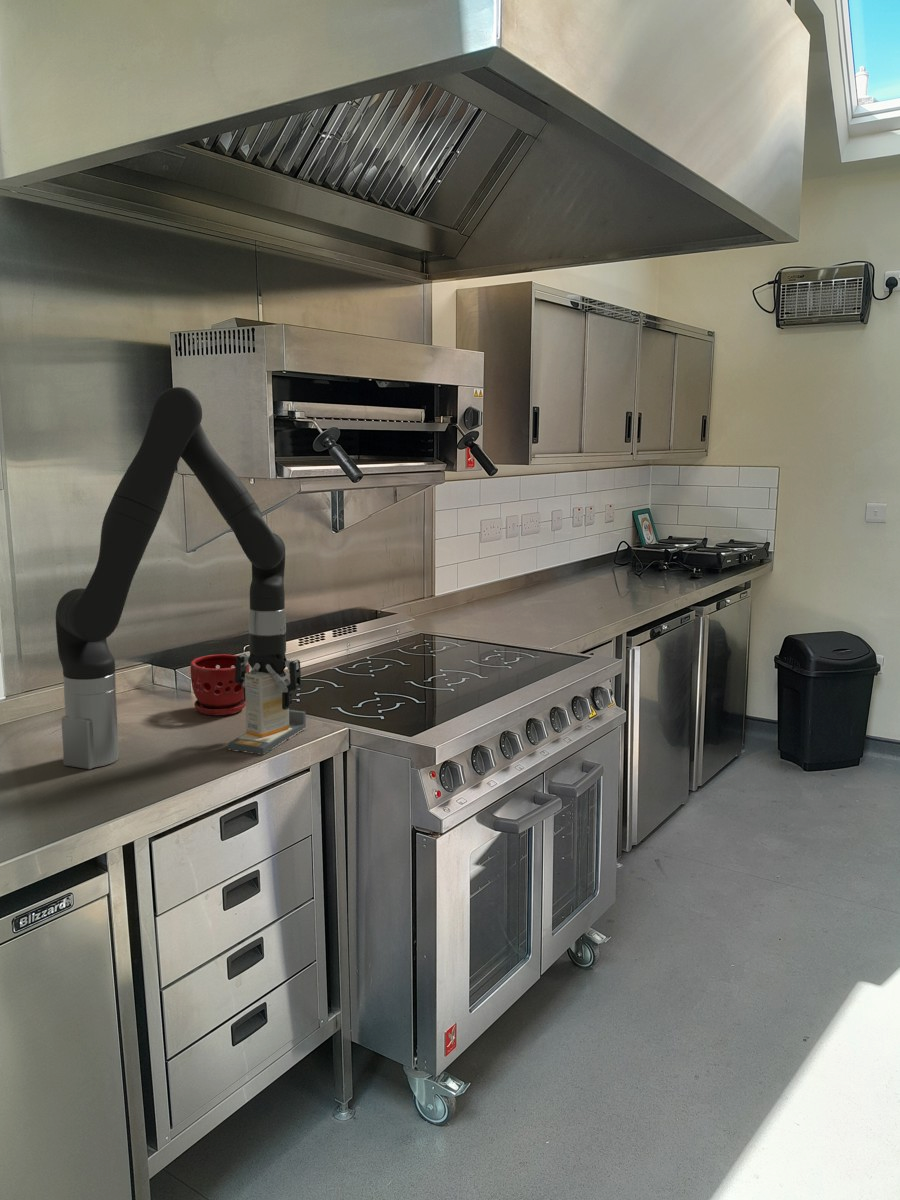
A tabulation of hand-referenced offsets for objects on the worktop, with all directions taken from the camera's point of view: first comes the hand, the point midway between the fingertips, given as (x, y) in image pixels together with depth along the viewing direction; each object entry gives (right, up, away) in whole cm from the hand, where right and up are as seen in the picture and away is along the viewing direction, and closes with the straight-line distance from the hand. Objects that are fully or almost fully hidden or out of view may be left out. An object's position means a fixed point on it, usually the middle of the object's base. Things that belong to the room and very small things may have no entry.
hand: (268, 706), depth 187 cm
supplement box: (0, -6, +1) cm, 6 cm away
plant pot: (-15, -4, +21) cm, 26 cm away
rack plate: (0, -7, +1) cm, 7 cm away
